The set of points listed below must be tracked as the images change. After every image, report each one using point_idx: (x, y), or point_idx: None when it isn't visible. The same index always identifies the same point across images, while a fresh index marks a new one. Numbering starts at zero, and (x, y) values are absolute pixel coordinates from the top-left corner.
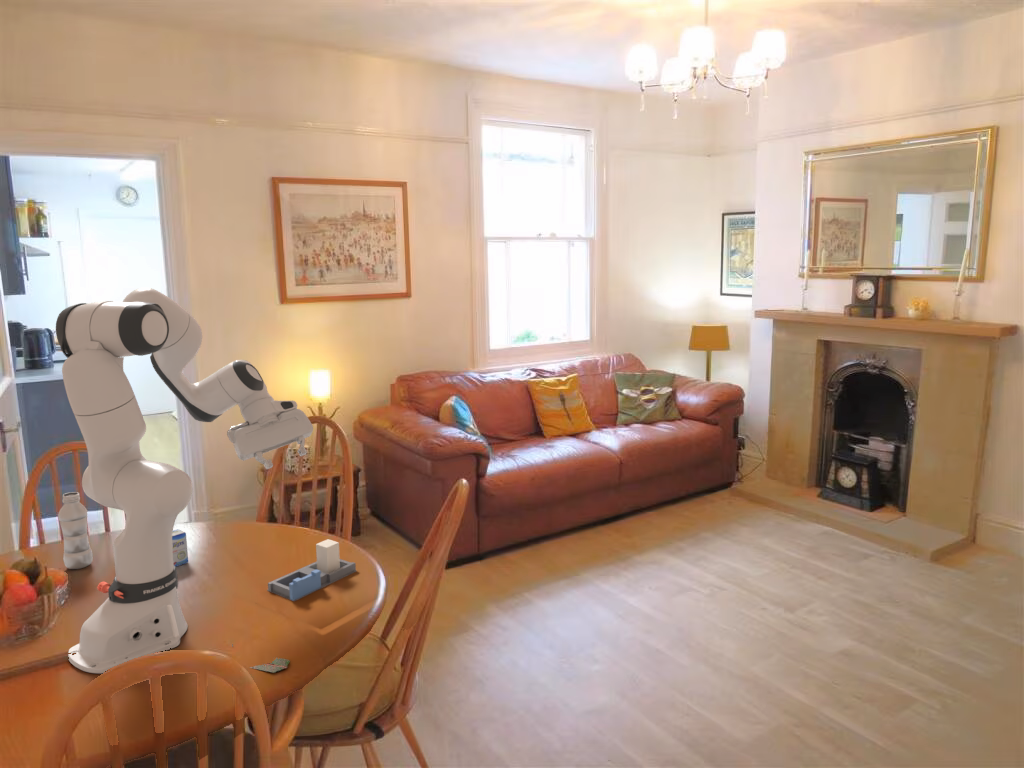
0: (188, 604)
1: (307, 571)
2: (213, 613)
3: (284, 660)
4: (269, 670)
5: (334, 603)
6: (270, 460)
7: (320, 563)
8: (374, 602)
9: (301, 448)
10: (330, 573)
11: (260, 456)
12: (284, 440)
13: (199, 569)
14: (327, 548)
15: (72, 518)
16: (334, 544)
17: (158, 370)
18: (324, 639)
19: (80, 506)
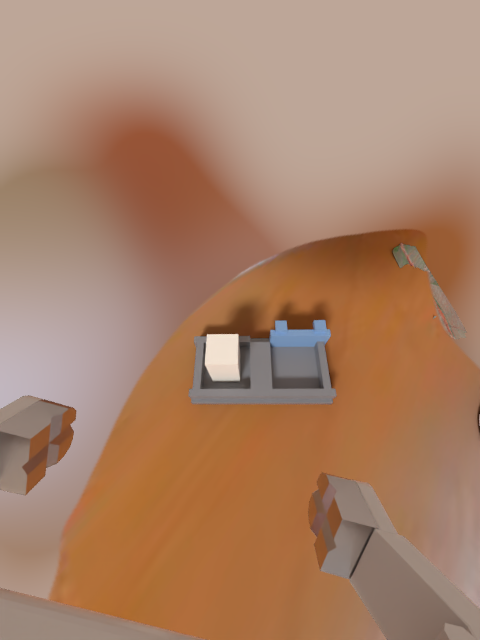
0: (459, 498)
1: (263, 375)
2: (428, 421)
3: (396, 255)
4: (416, 252)
5: (281, 304)
6: (340, 507)
7: (239, 365)
8: (248, 271)
9: (19, 424)
10: (245, 339)
11: (467, 616)
12: (41, 605)
13: None
14: (236, 335)
15: None
16: (218, 334)
17: None
18: (340, 257)
19: None
